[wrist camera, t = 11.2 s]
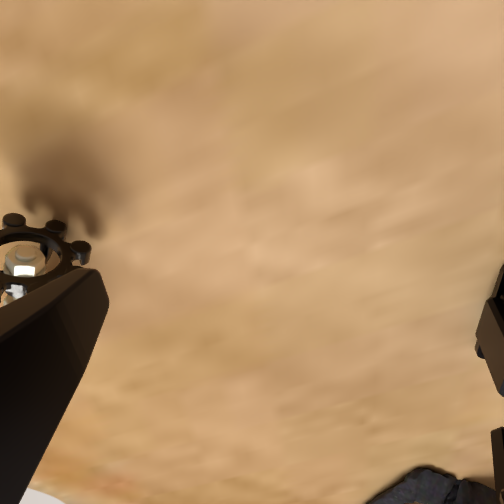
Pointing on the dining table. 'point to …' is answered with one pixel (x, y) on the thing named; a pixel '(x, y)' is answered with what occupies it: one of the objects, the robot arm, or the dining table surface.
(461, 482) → the dark slate chunk
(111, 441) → the dining table surface
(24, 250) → the valve
